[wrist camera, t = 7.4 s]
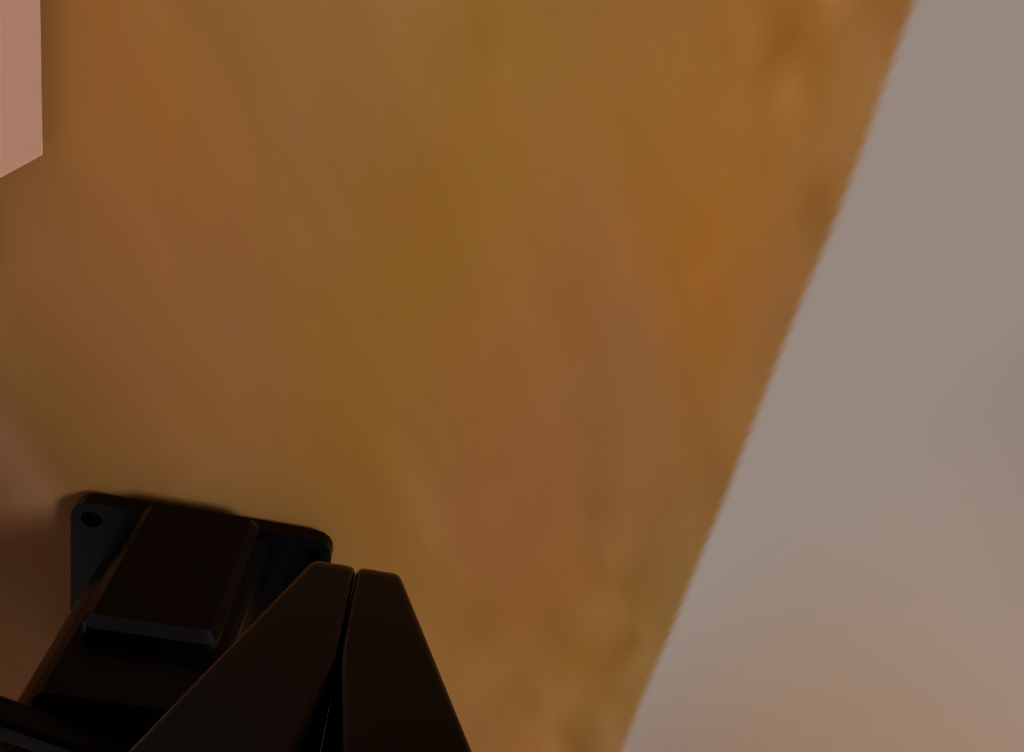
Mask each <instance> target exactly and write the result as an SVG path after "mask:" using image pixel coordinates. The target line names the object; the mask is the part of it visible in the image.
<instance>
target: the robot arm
mask: <svg viewBox="0 0 1024 752" xmlns="http://www.w3.org/2000/svg"><path fill="white" fill-rule="evenodd" d="M88 511H93V512H96V513H98V514H99V515H100V516H101V517H100V518H97V517H95V516H92V515H91V514H90V513H89V512H88ZM307 547H313V548H316V549H318V550H319V551H320V552H318V553H312V552H310V551H308V550H307V549H306V548H307ZM332 552H333V542H332V540H331V539H330V537H329V536H328V535H326V534H325V533H323V532H320V531H317V530H312V529H306V528H300V527H294V526H288V525H282V524H276V523H270V522H264V521H258V520H252V519H246V518H240V517H234V516H228V515H222V514H216V513H210V512H204V511H198V510H192V509H186V508H180V507H174V506H168V505H162V504H156V503H150V502H144V501H138V500H132V499H126V498H120V497H114V496H108V495H102V494H88V495H85V496H83V497H82V498H81V499H80V500H79V501H78V502H77V504H76V505H75V507H74V508H73V510H72V513H71V612H70V614H69V615H68V617H67V619H66V621H65V622H64V624H63V626H62V627H61V629H60V631H59V632H58V634H57V636H56V637H55V639H54V641H53V642H52V644H51V646H50V647H49V649H48V651H47V652H46V654H45V656H44V657H43V659H42V661H41V662H40V664H39V666H38V667H37V669H36V671H35V672H34V674H33V676H32V677H31V679H30V681H29V682H28V684H27V686H26V688H25V689H24V691H23V693H22V694H21V696H20V698H19V699H18V701H14V700H12V699H9V698H6V697H3V696H0V752H320V751H321V752H471V749H470V747H469V744H468V742H467V739H466V737H465V734H464V732H463V730H462V727H461V725H460V722H459V720H458V717H457V715H456V712H455V710H454V708H453V705H452V703H451V700H450V698H449V695H448V693H447V690H446V688H445V685H444V683H443V681H442V678H441V676H440V673H439V671H438V668H437V666H436V663H435V661H434V659H433V656H432V654H431V651H430V649H429V646H428V644H427V641H426V639H425V636H424V634H423V632H422V629H421V627H420V624H419V622H418V619H417V617H416V614H415V612H414V610H413V607H412V605H411V602H410V600H409V597H408V595H407V592H406V590H405V587H404V585H403V583H402V581H401V579H400V577H399V576H398V575H396V574H394V573H389V572H382V571H376V570H370V569H360V570H359V571H358V572H357V573H356V575H355V571H354V569H353V568H352V567H350V566H346V565H339V564H333V563H331V558H332ZM354 578H355V580H354ZM353 583H354V585H353ZM352 588H353V590H352ZM351 593H352V595H351ZM350 598H351V600H350ZM349 603H350V605H349ZM348 609H349V610H348ZM347 614H348V615H347ZM346 619H347V620H346ZM345 624H346V625H345ZM333 685H334V686H333ZM332 690H333V691H332ZM331 695H332V696H331ZM330 700H331V701H330ZM329 705H330V706H329ZM328 710H329V711H328ZM327 715H328V717H327ZM326 720H327V722H326ZM325 725H326V727H325ZM324 730H325V732H324ZM323 735H324V737H323ZM322 740H323V743H322ZM321 745H322V748H321Z"/></svg>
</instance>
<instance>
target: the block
mask: <svg viewBox="0 0 1024 752" xmlns="http://www.w3.org/2000/svg"><path fill="white" fill-rule="evenodd" d="M41 155H43V145H42V84H41V23H40V0H0V178H1V177H3V176H4V175H6V174H8V173H10V172H12V171H14V170H16V169H17V168H19V167H21V166H23V165H25V164H27V163H28V162H30V161H32V160H34V159H36V158H38V157H40V156H41Z"/></svg>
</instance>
